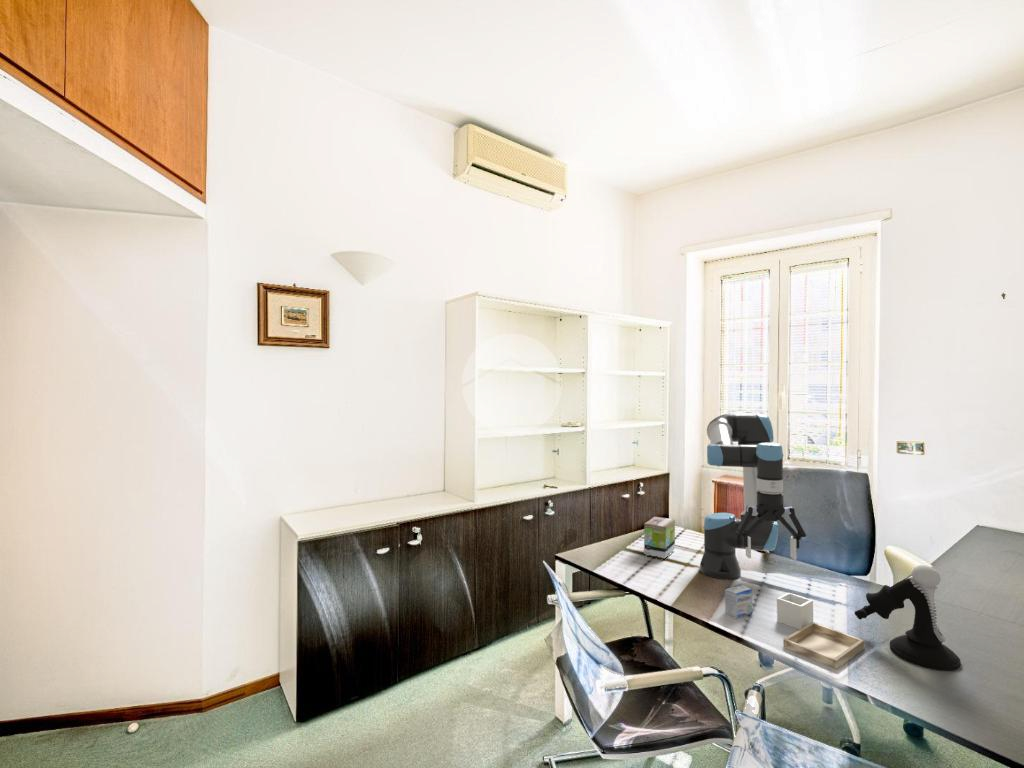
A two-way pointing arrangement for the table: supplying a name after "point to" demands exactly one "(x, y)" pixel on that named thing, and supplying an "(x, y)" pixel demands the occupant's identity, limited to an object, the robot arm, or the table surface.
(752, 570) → the table surface
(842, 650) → the birch tray
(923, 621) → the sculpture
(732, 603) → the medicine box
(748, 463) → the robot arm
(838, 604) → the table surface
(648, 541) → the tea box
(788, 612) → the pen cup
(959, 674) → the table surface
